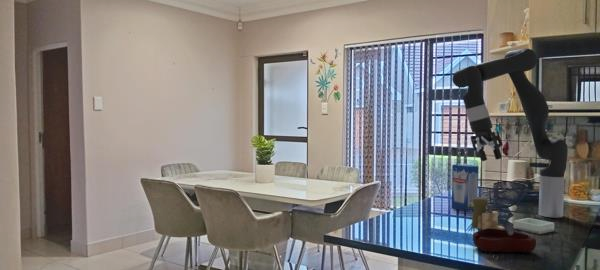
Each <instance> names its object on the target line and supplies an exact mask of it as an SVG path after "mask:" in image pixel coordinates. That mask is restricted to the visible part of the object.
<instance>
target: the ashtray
mask: <svg viewBox="0 0 600 270" xmlns="http://www.w3.org/2000/svg"><path fill="white" fill-rule="evenodd" d="M472 241H473V244H474V246H475V247H476V248H477V249H479V250H481V253H483V254H489V255H491V254H493V252H494V253H495V252H497V253H513V252H514V253H515V252H517V253H519V254H523V255H525V254H526V255H528V254H530V252H533V251H534V250H535V249H536V246H537V240H536V238H535V237H533V236H530V235H528V234H527V233H524V232H518V231H513V233H512V234H510V233H509V232H508V231H507V230H506V229H503V230H500V229H493V228H486V229H483V230H482V229H481V230H480V229H479V230H478V231H475V232H473V234H472Z"/></svg>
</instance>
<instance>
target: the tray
mask: <svg viewBox="0 0 600 270" xmlns="http://www.w3.org/2000/svg"><path fill="white" fill-rule="evenodd" d="M512 226H513V230H514V229H515V230H520V231H522V232H528V233H533V234H537V235H541V234H546V233H550V232H555V222H552V221H547V220H541V219H536V218H531V217H527V218H520V219H515V220H513V225H512Z"/></svg>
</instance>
